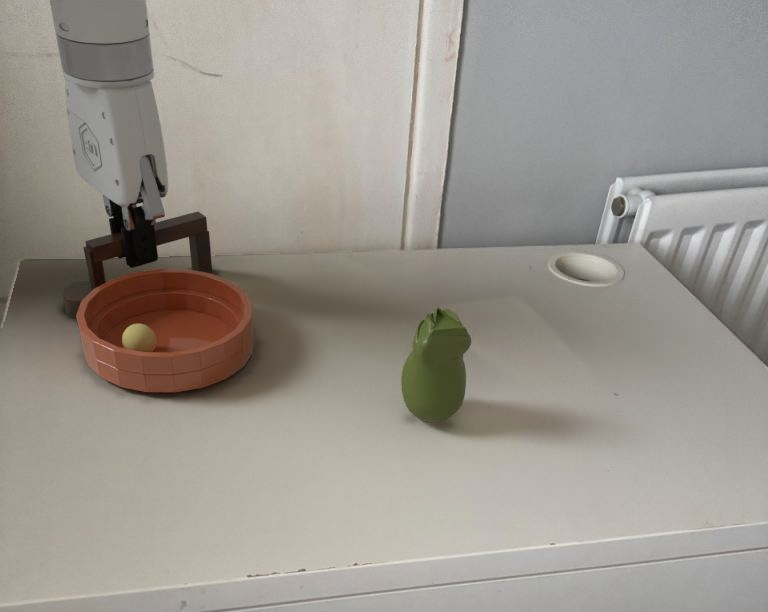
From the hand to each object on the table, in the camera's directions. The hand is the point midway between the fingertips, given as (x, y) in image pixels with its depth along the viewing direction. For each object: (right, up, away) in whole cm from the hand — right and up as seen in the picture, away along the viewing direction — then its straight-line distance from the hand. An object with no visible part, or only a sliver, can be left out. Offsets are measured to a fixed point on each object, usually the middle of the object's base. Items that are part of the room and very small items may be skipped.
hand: (136, 257), depth 83 cm
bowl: (+5, -10, -5) cm, 12 cm away
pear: (+29, -17, -9) cm, 35 cm away
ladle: (0, -3, +3) cm, 4 cm away
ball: (+2, -10, -8) cm, 13 cm away
